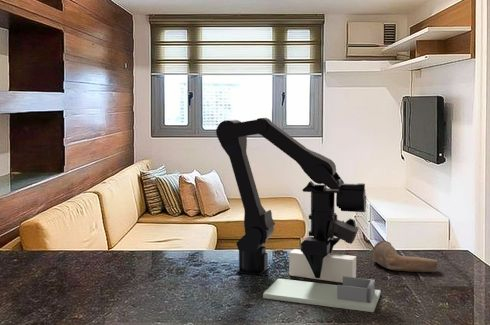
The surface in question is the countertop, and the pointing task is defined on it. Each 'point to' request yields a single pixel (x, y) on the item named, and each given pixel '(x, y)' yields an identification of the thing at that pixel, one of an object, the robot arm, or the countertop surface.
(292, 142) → the robot arm
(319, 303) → the bracket board
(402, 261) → the pipe
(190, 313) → the countertop surface
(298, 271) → the block
